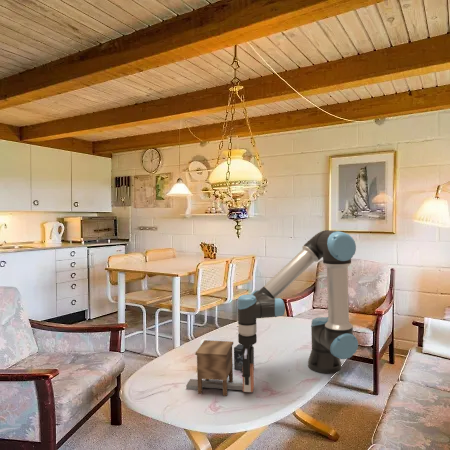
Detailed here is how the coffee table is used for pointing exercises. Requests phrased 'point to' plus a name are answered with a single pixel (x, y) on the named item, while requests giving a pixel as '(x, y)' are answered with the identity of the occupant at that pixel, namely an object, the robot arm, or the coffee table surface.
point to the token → (192, 384)
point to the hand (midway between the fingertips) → (248, 388)
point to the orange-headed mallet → (231, 385)
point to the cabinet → (214, 363)
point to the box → (239, 357)
